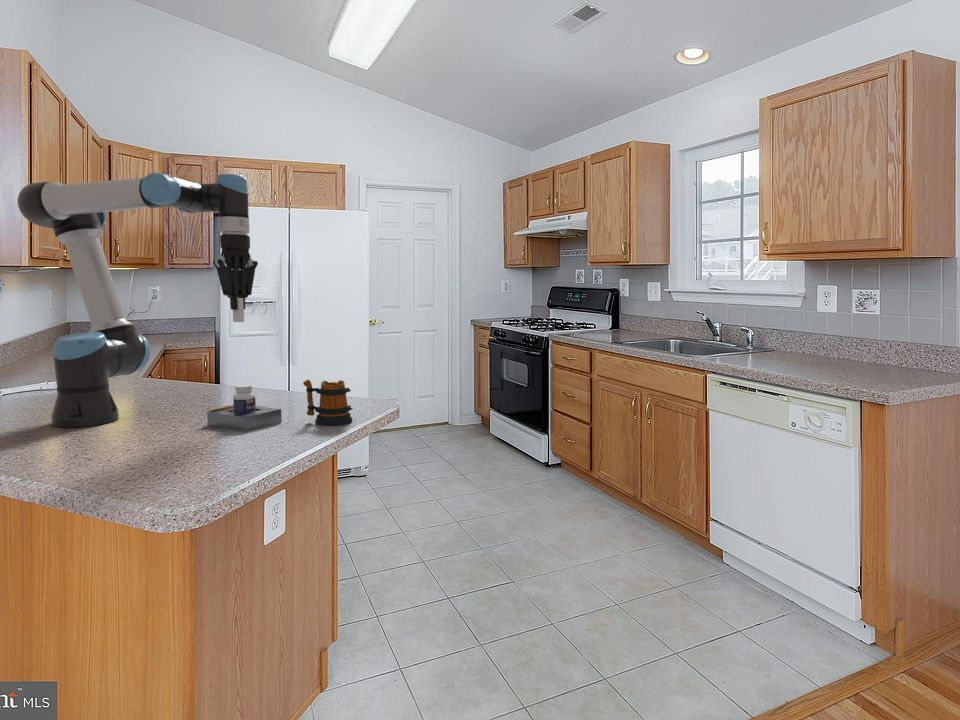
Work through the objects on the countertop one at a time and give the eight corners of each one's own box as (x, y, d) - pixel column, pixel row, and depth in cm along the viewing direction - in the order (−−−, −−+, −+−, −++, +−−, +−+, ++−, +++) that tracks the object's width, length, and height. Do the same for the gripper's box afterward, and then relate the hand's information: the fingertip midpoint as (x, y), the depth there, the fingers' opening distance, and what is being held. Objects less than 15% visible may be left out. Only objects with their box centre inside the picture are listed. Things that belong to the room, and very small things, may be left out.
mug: (357, 418, 169) (356, 376, 167) (348, 426, 159) (347, 382, 157) (310, 417, 169) (308, 376, 168) (298, 426, 159) (296, 382, 158)
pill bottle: (249, 424, 159) (247, 387, 158) (230, 424, 160) (228, 387, 159) (260, 420, 164) (258, 384, 163) (241, 419, 165) (240, 383, 164)
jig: (207, 425, 160) (206, 409, 160) (245, 416, 171) (244, 402, 170) (244, 431, 153) (244, 415, 153) (281, 421, 164) (281, 406, 163)
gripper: (223, 231, 158) (227, 323, 161) (263, 235, 170) (267, 321, 172) (204, 233, 162) (208, 322, 165) (245, 236, 173) (248, 320, 176)
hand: (238, 321), depth 169 cm, fingers closed
